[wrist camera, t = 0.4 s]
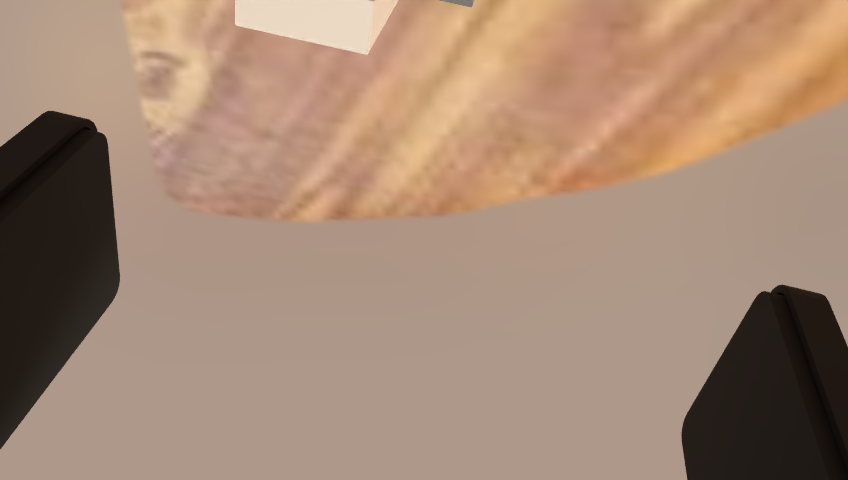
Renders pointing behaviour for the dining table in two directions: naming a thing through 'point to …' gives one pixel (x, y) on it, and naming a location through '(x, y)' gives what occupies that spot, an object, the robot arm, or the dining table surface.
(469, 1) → the mat
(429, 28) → the dining table surface
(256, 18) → the domino
